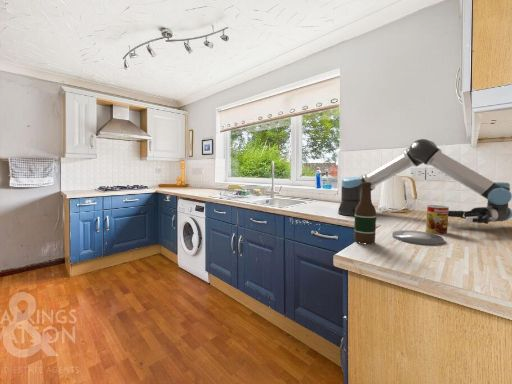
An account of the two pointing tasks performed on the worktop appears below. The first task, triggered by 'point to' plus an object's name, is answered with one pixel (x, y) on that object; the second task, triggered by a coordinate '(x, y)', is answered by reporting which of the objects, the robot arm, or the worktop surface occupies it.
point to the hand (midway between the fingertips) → (450, 217)
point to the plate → (418, 237)
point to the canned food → (437, 219)
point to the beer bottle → (365, 217)
